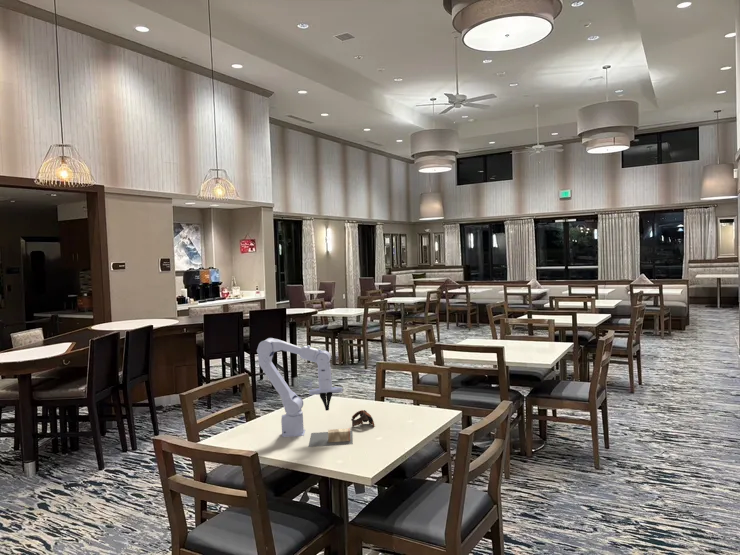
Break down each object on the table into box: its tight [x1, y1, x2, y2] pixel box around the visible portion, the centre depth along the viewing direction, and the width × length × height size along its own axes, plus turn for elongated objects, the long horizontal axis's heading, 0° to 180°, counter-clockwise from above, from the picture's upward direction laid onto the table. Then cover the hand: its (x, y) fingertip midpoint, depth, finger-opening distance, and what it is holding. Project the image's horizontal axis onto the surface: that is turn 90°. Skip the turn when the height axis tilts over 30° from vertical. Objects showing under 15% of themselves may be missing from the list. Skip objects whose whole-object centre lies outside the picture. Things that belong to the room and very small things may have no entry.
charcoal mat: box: [307, 429, 354, 448], centre depth 226 cm, size 18×18×1 cm
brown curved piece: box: [350, 409, 375, 428], centre depth 243 cm, size 12×10×8 cm
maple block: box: [327, 427, 351, 442], centre depth 223 cm, size 4×4×9 cm
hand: (327, 409), depth 234 cm, fingers closed
